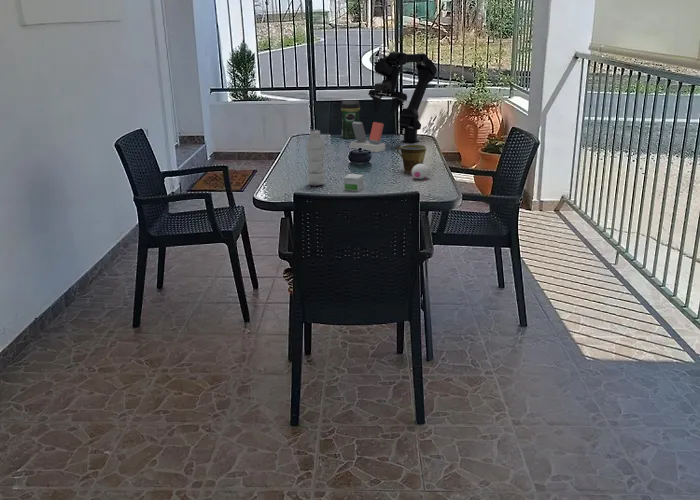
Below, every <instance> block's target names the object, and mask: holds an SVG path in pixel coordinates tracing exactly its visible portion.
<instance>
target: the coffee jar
mask: <svg viewBox="0 0 700 500" xmlns="http://www.w3.org/2000/svg"><path fill="white" fill-rule="evenodd" d="M340 111H341V114H342V117H341V118H342V124H341V138H342V139H347V140H348V139H349V140H353V139H355V140H356V137H355V134H354V130H353V126H352V123H353V122H354V121H355V122H360V112H361V105H360V100H354V99H353V100H352V99H351V100H342V102H341V106H340Z"/></svg>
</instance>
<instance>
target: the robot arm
mask: <svg viewBox="0 0 700 500" xmlns="http://www.w3.org/2000/svg"><path fill="white" fill-rule="evenodd" d="M388 53H389V54H388V55H387V56H386V57H385V58H384V57H380V58H379V60H378V61H377V62H375V64H374V67H373V69H374V70H373V71H374V72H375V73H376V74H379V75H380V76H383V77H385V78H384V79H382V81H381V82H380V83H379V82H378V83H374V88H373V89H369V91H368V96H370V97H369V98H371V99H372V101H373V108H374V113H375V114H377V113H378V111H379V109H380V106H381V104H382V101H383V99H382V98H391V101H392V103H391V107H390V114H389V115H391V116H392V115H393V114H394V113H395V112H396V111H397V110H398V108H399V107H400V106H401V105H402V104H404V103H405V102H407V101H408V95H407V93H404V92H402V91H397V90H396V89H397V87H399V83H398V81H399V76H400V74H401V73H402V74H403V69H402V67H401V66H404V65H406V64H407V63H415V64H416V65H415V68H416V70H417V79H418V80H417V83H416V85H415V88H414V91H413V92H412V96H411V98H410V101H409V104H408V105H407V107H406V108H402V110H401V112H400V115H399V118H398V121H399V125H400V129H401V130H403V140H401V143H409V144H414V143H417V142H418V143H419V142H420V139H418V131H419V130H421V128H422V124H421V122H420V121H419V108H420V105H421V103H422V100H423V98H424V95H425V92H426V90H427V87H428V85H429V83H431V82H432V81H433V80H434V79H435V77H436V75H437V71H438V70H437V69H438V68H437V67H436V65H435V62H434V61H433V60H431V59H430V58H429V57H428V55H427V54H426V53H421V52H418V53H406V52H401V51H400V52H399V51H390V52H388ZM422 63H423V64H422Z"/></svg>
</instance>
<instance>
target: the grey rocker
mask: <svg viewBox="0 0 700 500" xmlns="http://www.w3.org/2000/svg"><path fill="white" fill-rule="evenodd" d="M352 126H353V130H354V134H355V137H356V138H355V141H363V142H366V141H368V138H367V136H366V131H365V127H364V124H363V122H362V121H359V122H355V121H354V122H353V123H352Z"/></svg>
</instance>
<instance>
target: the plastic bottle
mask: <svg viewBox="0 0 700 500" xmlns="http://www.w3.org/2000/svg"><path fill="white" fill-rule="evenodd" d="M309 137H310V138H308V140H307V143H306V152H307V160H308V164H307V165H308V167H307V176H306V179H307V183H308V185H309V186H315V187H318V186H322V185H324V184H325V182H326V175H325V174H326V173H325V167H324V157H325V154H324V153H325V142H324V141H323V139H322V138H321V130H320V129H310V130H309Z"/></svg>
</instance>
